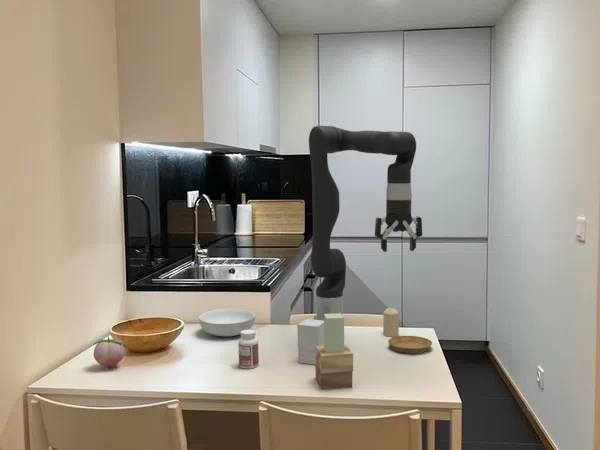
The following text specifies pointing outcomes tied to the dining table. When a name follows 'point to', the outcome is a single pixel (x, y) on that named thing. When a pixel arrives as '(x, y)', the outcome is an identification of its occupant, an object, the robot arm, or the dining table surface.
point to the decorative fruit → (108, 352)
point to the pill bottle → (248, 349)
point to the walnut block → (333, 379)
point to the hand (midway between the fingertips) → (398, 251)
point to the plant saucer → (410, 344)
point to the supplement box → (309, 339)
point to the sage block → (333, 333)
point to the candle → (390, 322)
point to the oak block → (333, 360)
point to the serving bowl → (226, 321)
